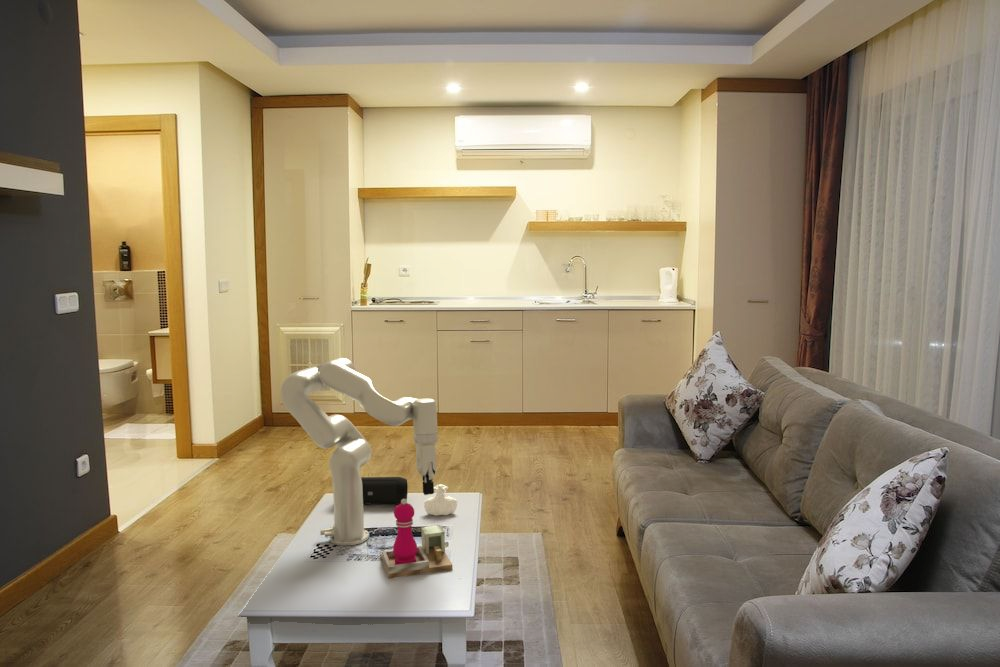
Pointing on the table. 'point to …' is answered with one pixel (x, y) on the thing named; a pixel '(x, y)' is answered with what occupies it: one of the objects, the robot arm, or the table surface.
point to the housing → (433, 538)
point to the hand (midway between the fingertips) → (428, 493)
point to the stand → (416, 563)
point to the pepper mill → (404, 534)
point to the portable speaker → (384, 490)
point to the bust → (440, 502)
